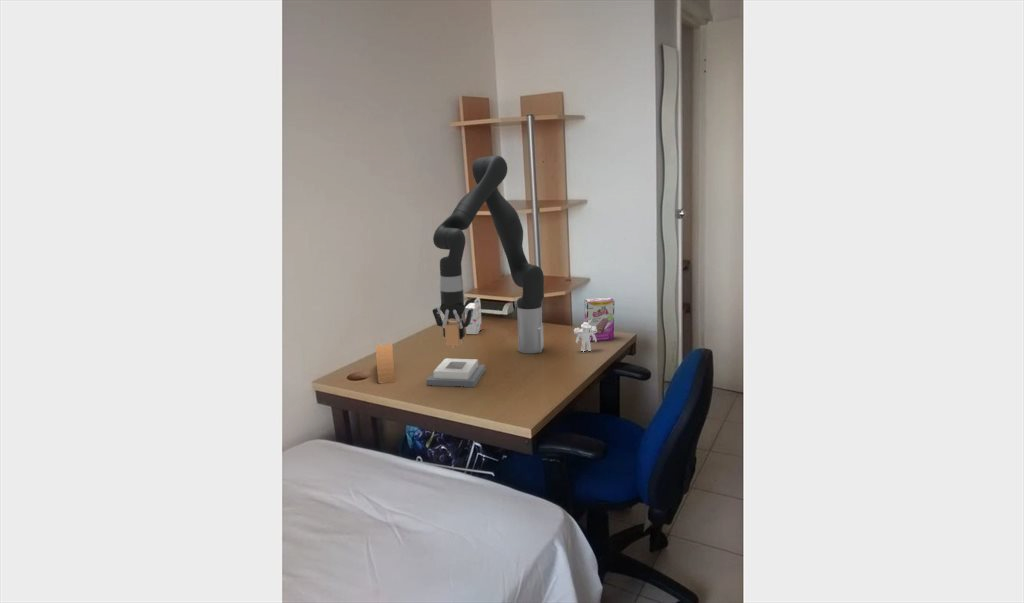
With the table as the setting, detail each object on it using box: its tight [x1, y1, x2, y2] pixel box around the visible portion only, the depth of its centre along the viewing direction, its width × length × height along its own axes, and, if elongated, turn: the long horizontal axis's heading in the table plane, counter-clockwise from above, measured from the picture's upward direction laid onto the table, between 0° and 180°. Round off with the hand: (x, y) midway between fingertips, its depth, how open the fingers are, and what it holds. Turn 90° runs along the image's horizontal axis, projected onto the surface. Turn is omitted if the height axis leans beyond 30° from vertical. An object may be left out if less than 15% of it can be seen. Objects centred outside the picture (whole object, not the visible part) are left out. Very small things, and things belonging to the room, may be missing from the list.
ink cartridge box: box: [464, 296, 483, 335], centre depth 269 cm, size 9×5×15 cm, turn 168°
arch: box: [375, 343, 396, 383], centre depth 223 cm, size 6×20×10 cm, turn 11°
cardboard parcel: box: [444, 320, 464, 349], centre depth 214 cm, size 4×6×8 cm
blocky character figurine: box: [573, 319, 598, 353], centre depth 239 cm, size 9×4×12 cm, turn 102°
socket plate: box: [426, 357, 486, 388], centre depth 217 cm, size 16×16×4 cm
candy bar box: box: [583, 297, 615, 342], centre depth 252 cm, size 11×5×16 cm, turn 98°
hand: (454, 338), depth 214 cm, fingers closed on cardboard parcel, 4 cm apart
